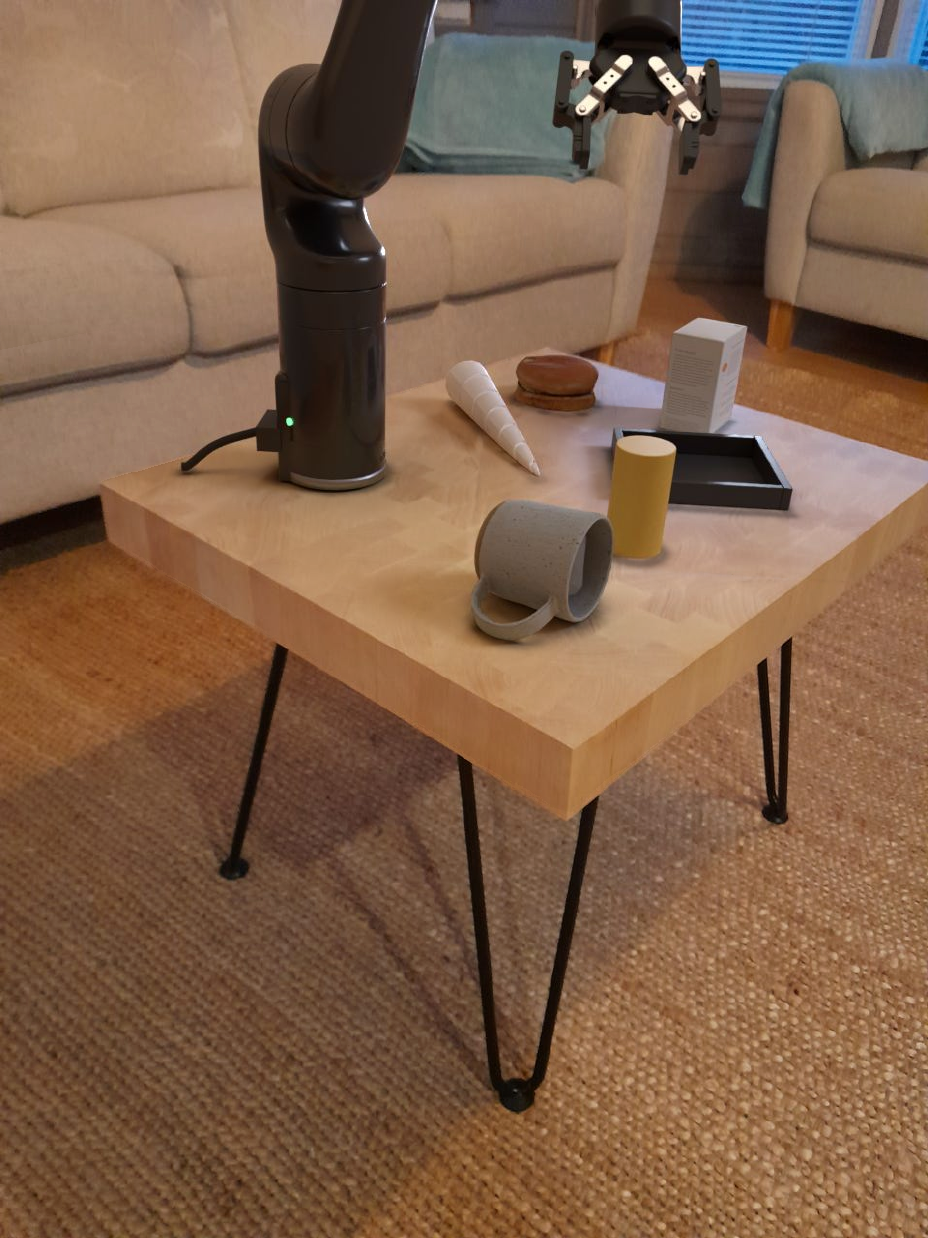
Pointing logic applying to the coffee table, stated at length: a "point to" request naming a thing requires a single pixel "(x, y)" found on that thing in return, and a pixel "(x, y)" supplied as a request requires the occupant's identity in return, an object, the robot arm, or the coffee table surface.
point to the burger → (556, 382)
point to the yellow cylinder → (640, 495)
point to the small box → (702, 375)
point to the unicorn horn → (488, 409)
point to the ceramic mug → (541, 563)
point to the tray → (721, 470)
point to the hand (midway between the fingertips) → (635, 165)
